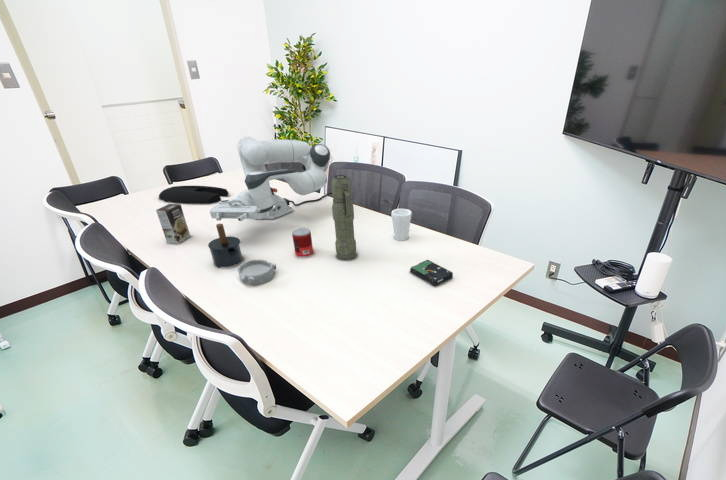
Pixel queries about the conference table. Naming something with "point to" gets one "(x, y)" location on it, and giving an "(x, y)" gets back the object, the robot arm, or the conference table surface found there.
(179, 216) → the coffee box
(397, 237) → the foam cup
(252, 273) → the dish
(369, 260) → the conference table surface
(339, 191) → the thermos
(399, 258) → the conference table surface
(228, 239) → the lid
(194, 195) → the black flat oval slab
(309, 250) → the canned food
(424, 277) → the disk drive
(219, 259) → the pot
